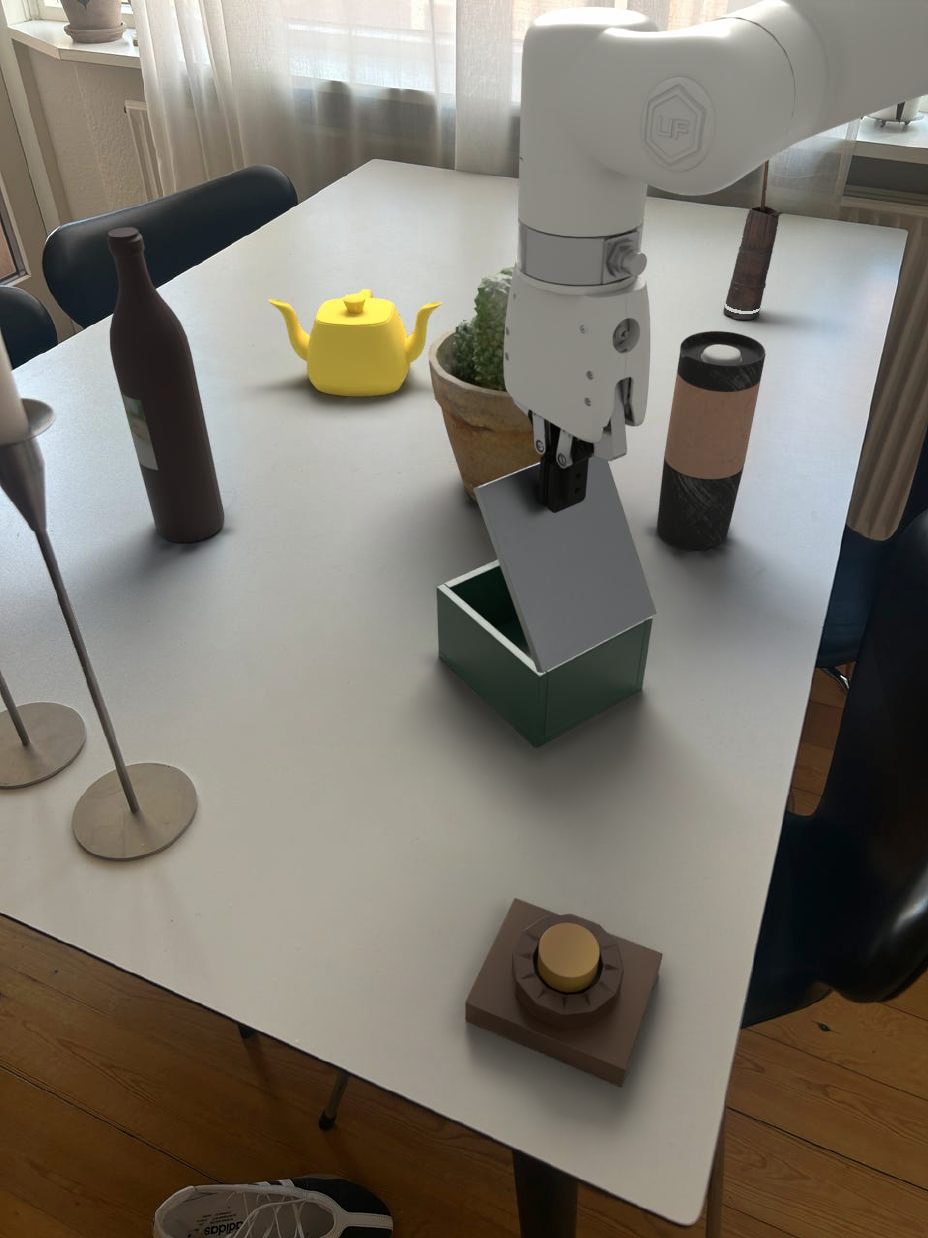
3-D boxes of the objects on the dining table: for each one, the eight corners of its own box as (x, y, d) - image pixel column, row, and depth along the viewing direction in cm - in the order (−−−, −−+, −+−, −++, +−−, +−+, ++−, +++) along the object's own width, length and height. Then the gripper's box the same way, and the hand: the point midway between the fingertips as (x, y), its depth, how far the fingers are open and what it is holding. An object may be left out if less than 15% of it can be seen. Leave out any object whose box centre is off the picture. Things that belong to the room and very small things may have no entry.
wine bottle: (175, 503, 104) (105, 216, 85) (236, 510, 103) (179, 221, 84) (144, 540, 99) (63, 243, 80) (208, 548, 98) (141, 248, 78)
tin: (438, 656, 85) (435, 586, 80) (540, 606, 90) (544, 538, 85) (535, 749, 76) (539, 677, 71) (642, 688, 82) (653, 617, 77)
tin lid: (472, 488, 69) (478, 487, 68) (594, 439, 74) (600, 437, 73) (537, 672, 72) (543, 673, 71) (650, 613, 77) (657, 613, 76)
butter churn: (794, 322, 139) (841, 107, 121) (738, 332, 137) (777, 114, 119) (757, 299, 146) (796, 92, 128) (703, 308, 143) (735, 99, 125)
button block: (659, 972, 62) (666, 937, 59) (622, 1088, 56) (628, 1055, 54) (513, 916, 65) (515, 881, 62) (465, 1021, 59) (464, 987, 57)
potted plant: (538, 553, 97) (550, 311, 81) (396, 494, 105) (381, 265, 89) (629, 475, 108) (655, 248, 92) (494, 427, 116) (496, 213, 100)
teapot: (449, 349, 133) (447, 270, 127) (440, 401, 122) (437, 318, 115) (292, 346, 135) (282, 268, 128) (268, 397, 123) (255, 315, 116)
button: (605, 951, 59) (607, 935, 58) (586, 1002, 56) (588, 987, 55) (549, 930, 60) (551, 914, 59) (528, 979, 58) (529, 963, 56)
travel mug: (744, 532, 99) (784, 347, 86) (699, 563, 95) (734, 374, 82) (683, 502, 103) (712, 322, 90) (638, 531, 99) (662, 347, 86)
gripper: (712, 270, 56) (671, 532, 68) (547, 206, 65) (536, 445, 77) (617, 301, 52) (591, 570, 64) (457, 228, 62) (460, 475, 74)
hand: (561, 501), depth 71 cm, fingers closed
